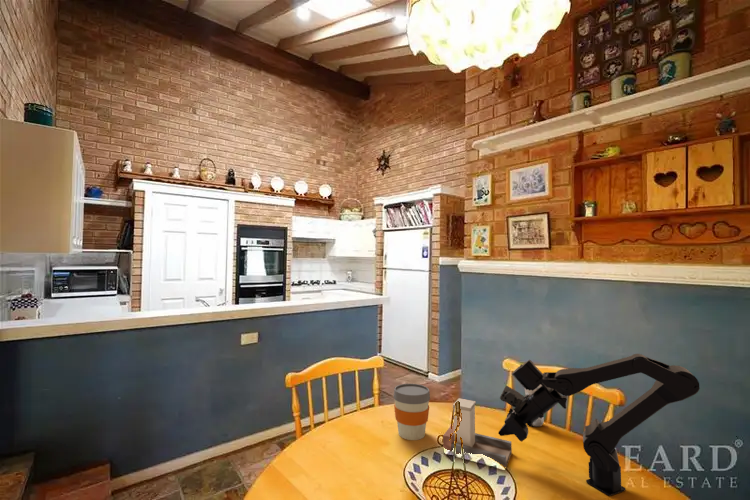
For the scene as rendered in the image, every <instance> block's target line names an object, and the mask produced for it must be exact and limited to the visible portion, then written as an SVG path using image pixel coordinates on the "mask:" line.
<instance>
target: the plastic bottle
mask: <svg viewBox="0 0 750 500" xmlns="http://www.w3.org/2000/svg"><path fill="white" fill-rule="evenodd" d="M541 386H542V385H541V384H540V385H539V386H538V387H537V388H536V389H534V390H533V391H532V390H530V391H529V390H526V389H525V388H524V394H525V395H524V397H525V396H526V395H527V394H528V395H529V394H530V395H531V394H532V393H533V392H535V391H536V390H537V389H538V388H540V387H541ZM544 417H545V416H544ZM544 417H542V418H538V419H537V420H536V421H534V422H533V425H532V426H531V427H542V426H543V424H544V420H545V418H544Z"/></svg>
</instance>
